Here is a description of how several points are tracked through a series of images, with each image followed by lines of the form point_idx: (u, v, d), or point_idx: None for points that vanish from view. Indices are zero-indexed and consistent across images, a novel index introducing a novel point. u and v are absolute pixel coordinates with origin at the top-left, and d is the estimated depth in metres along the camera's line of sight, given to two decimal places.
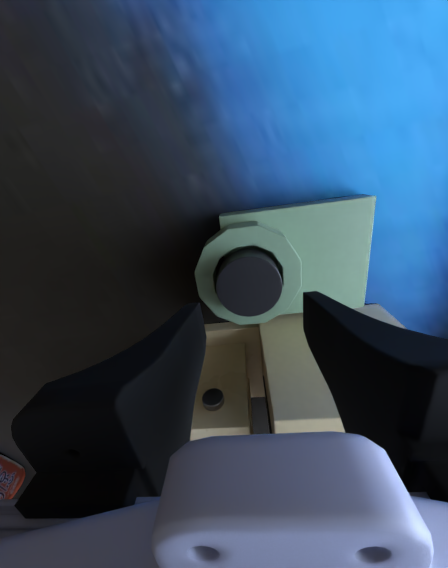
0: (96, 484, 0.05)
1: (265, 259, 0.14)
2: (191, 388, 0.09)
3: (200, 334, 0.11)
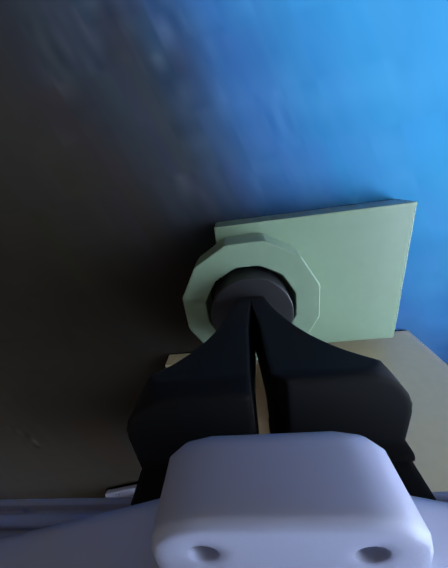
0: None
1: (272, 281, 0.11)
2: (254, 384, 0.09)
3: (253, 330, 0.11)
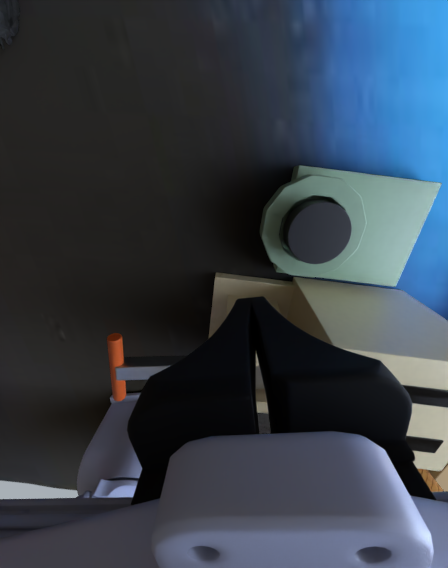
0: None
1: (343, 209, 0.15)
2: (254, 384, 0.09)
3: (253, 329, 0.11)
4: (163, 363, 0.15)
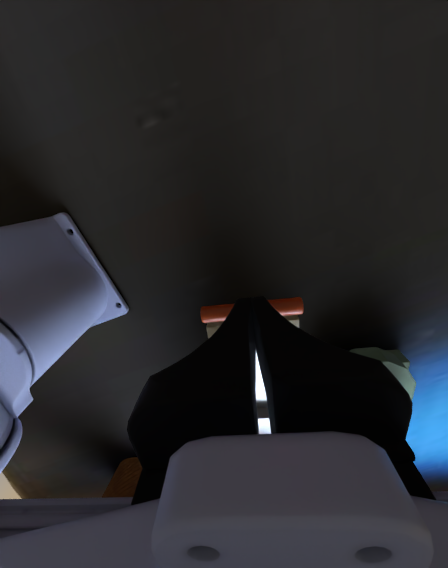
0: None
1: None
2: (254, 384, 0.09)
3: (253, 329, 0.11)
4: None
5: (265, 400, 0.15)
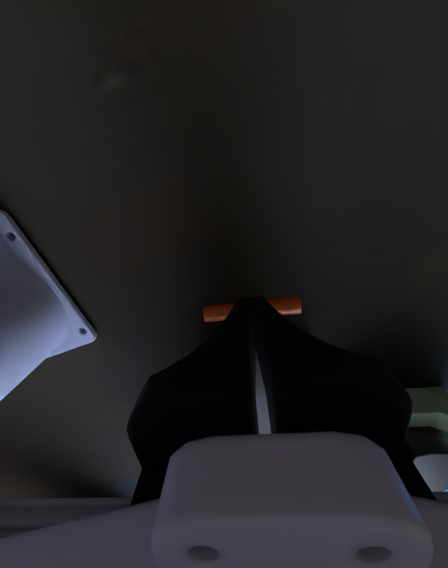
0: None
1: None
2: (254, 384, 0.09)
3: (253, 329, 0.11)
4: None
5: None
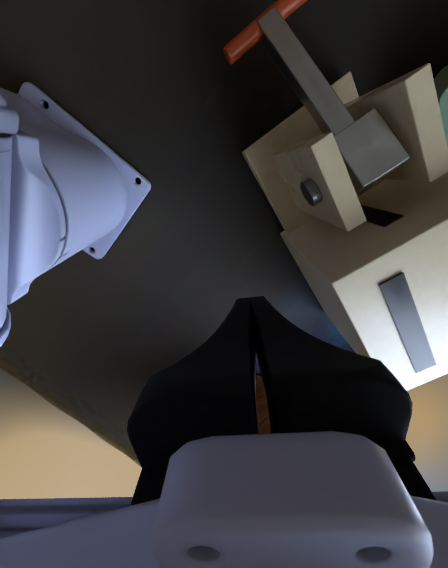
0: None
1: None
2: (254, 384, 0.09)
3: (253, 329, 0.11)
4: None
5: (345, 114, 0.12)
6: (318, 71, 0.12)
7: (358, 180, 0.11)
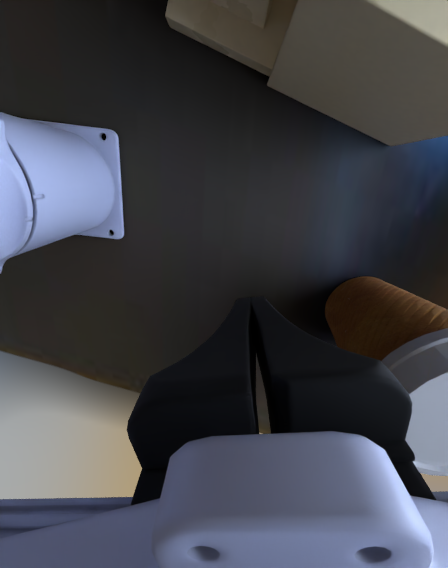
0: None
1: None
2: (254, 384, 0.09)
3: (253, 330, 0.11)
4: None
5: None
6: None
7: None
